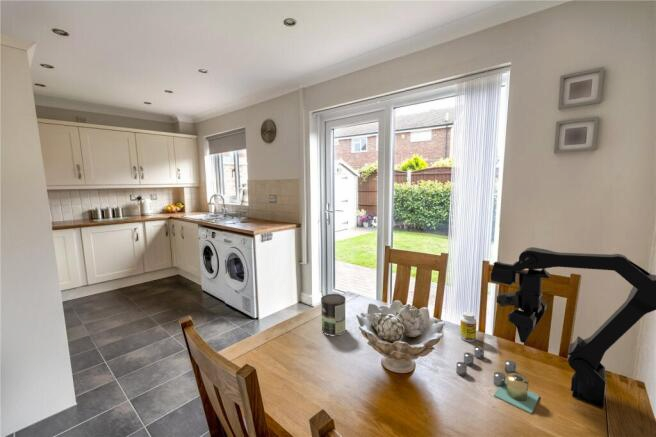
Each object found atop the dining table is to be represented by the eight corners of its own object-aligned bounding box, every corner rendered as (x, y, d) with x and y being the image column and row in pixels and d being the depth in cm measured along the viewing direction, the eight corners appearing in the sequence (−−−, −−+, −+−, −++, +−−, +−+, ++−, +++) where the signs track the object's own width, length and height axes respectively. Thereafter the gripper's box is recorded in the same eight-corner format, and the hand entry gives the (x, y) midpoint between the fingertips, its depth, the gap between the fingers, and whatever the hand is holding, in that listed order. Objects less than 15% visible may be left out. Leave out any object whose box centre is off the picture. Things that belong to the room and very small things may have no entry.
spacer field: (518, 369, 93) (518, 361, 92) (501, 395, 82) (502, 385, 81) (473, 352, 103) (473, 344, 103) (453, 372, 92) (453, 363, 92)
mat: (539, 396, 81) (539, 395, 81) (531, 414, 75) (531, 412, 75) (503, 381, 87) (503, 379, 87) (493, 396, 81) (493, 394, 81)
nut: (529, 395, 81) (530, 378, 80) (524, 404, 78) (525, 386, 77) (509, 386, 85) (510, 369, 84) (503, 394, 81) (504, 377, 81)
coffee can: (322, 337, 115) (322, 304, 113) (320, 325, 125) (320, 294, 124) (347, 335, 116) (347, 302, 115) (343, 323, 126) (343, 293, 125)
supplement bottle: (465, 343, 109) (466, 317, 108) (457, 335, 114) (457, 311, 113) (478, 341, 110) (480, 316, 108) (469, 334, 115) (470, 310, 114)
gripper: (509, 276, 100) (506, 318, 101) (490, 289, 87) (488, 338, 89) (548, 283, 91) (545, 329, 93) (534, 300, 79) (530, 352, 81)
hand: (526, 336), depth 89 cm, fingers open, 9 cm apart
